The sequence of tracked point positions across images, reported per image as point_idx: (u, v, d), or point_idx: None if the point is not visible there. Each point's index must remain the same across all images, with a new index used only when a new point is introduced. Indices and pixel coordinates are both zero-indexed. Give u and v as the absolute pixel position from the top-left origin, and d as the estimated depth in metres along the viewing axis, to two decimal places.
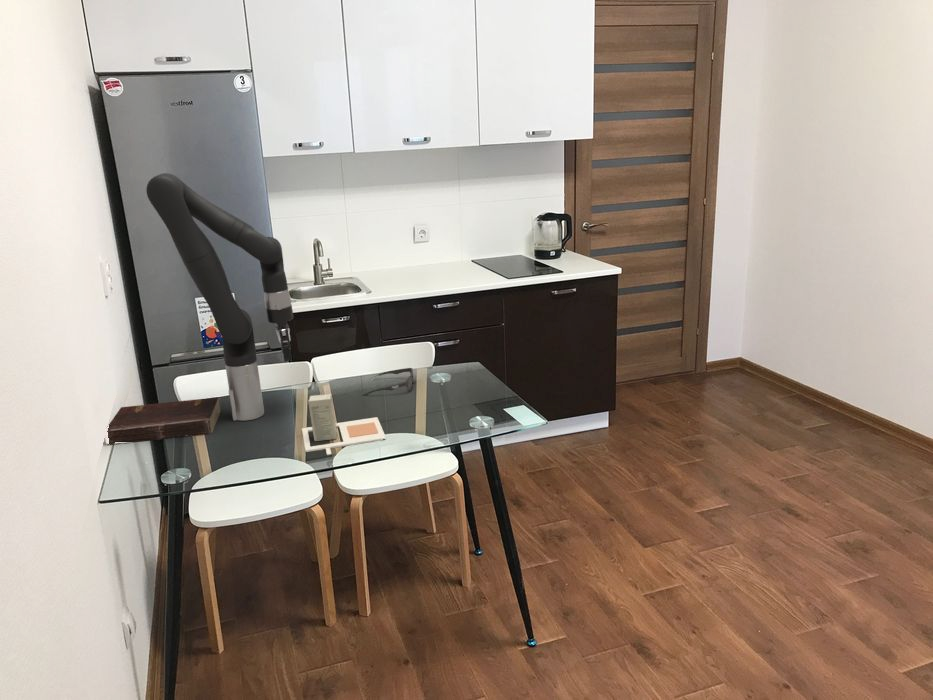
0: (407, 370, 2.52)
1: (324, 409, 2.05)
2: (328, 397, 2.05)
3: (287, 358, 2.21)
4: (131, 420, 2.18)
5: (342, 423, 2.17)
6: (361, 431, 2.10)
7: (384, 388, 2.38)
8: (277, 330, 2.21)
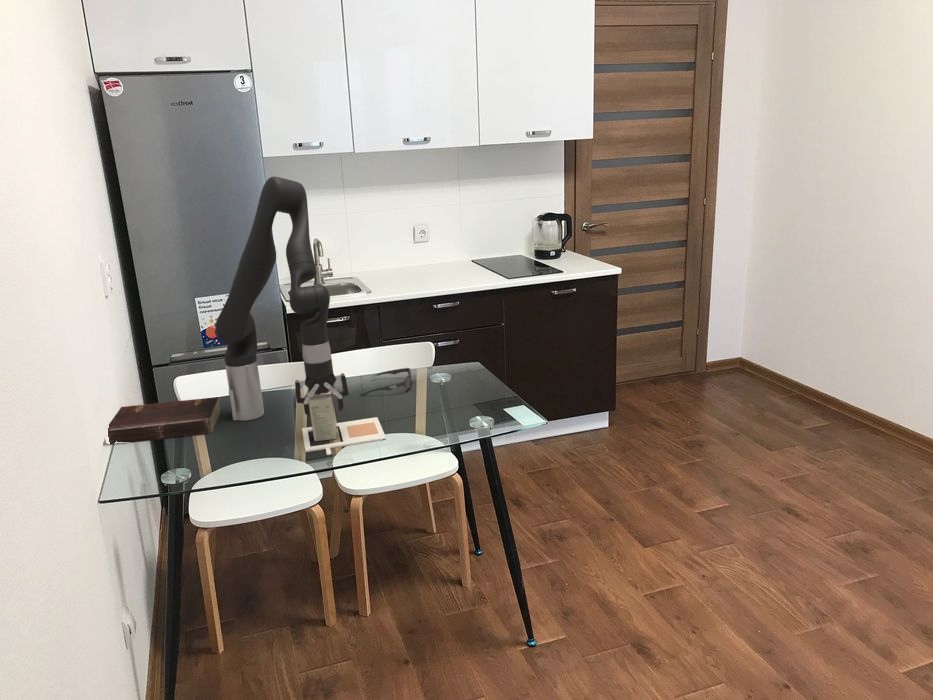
0: (405, 370, 2.52)
1: (324, 408, 2.05)
2: (328, 397, 2.05)
3: None
4: (131, 419, 2.18)
5: (342, 423, 2.17)
6: (361, 431, 2.10)
7: (382, 388, 2.38)
8: (328, 383, 2.04)
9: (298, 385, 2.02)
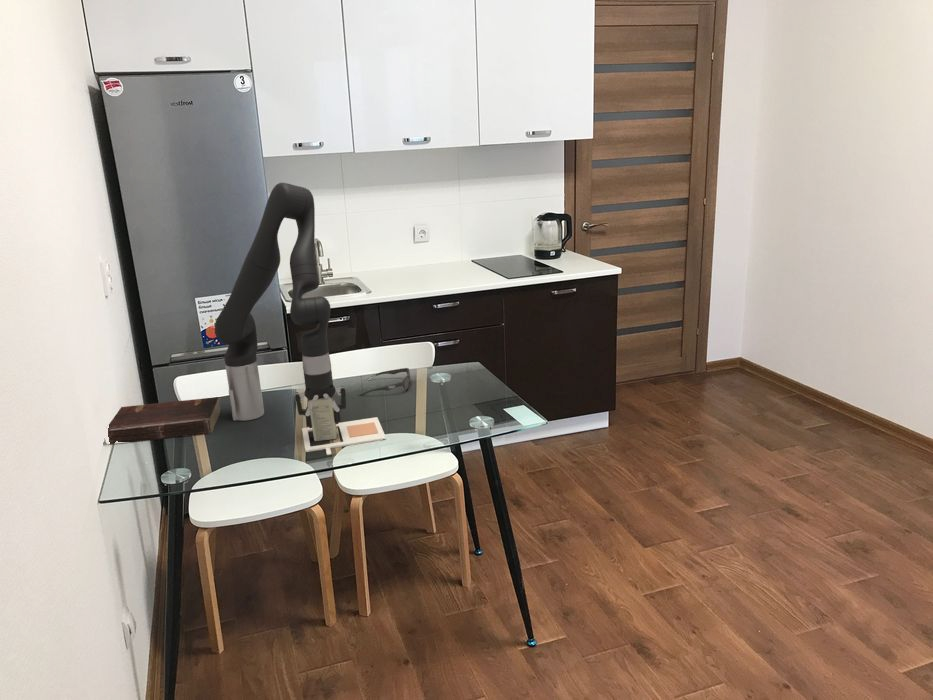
0: (404, 370, 2.52)
1: (324, 408, 2.05)
2: None
3: None
4: (131, 419, 2.18)
5: (342, 423, 2.17)
6: (361, 431, 2.10)
7: (381, 388, 2.38)
8: (327, 394, 2.05)
9: (298, 397, 2.03)
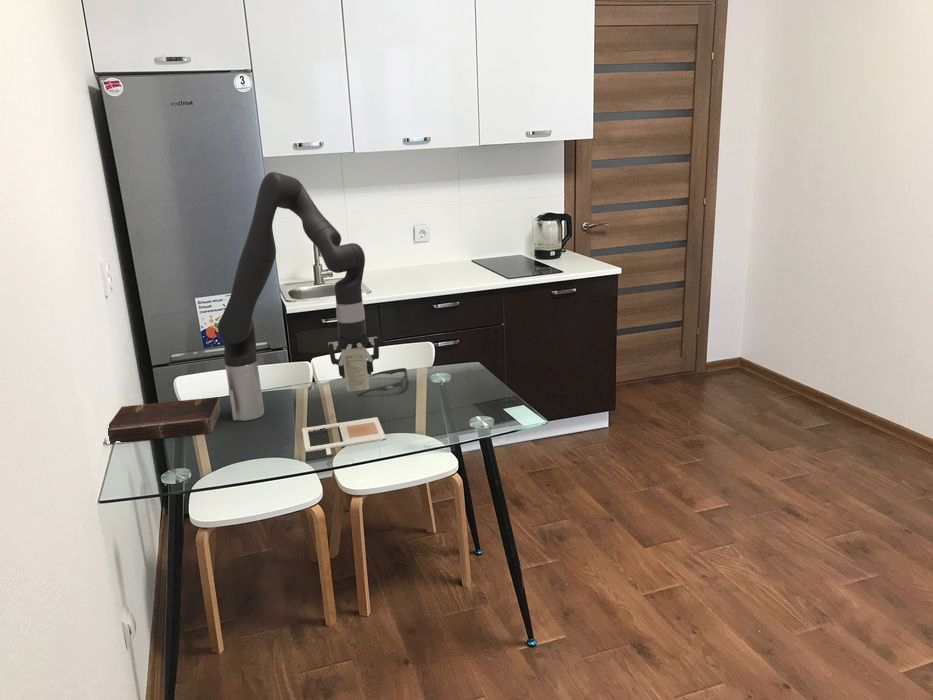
0: (401, 370, 2.52)
1: (358, 358, 2.03)
2: None
3: None
4: (131, 419, 2.19)
5: (342, 423, 2.17)
6: (361, 431, 2.10)
7: (378, 388, 2.38)
8: (361, 344, 2.03)
9: (331, 346, 2.02)
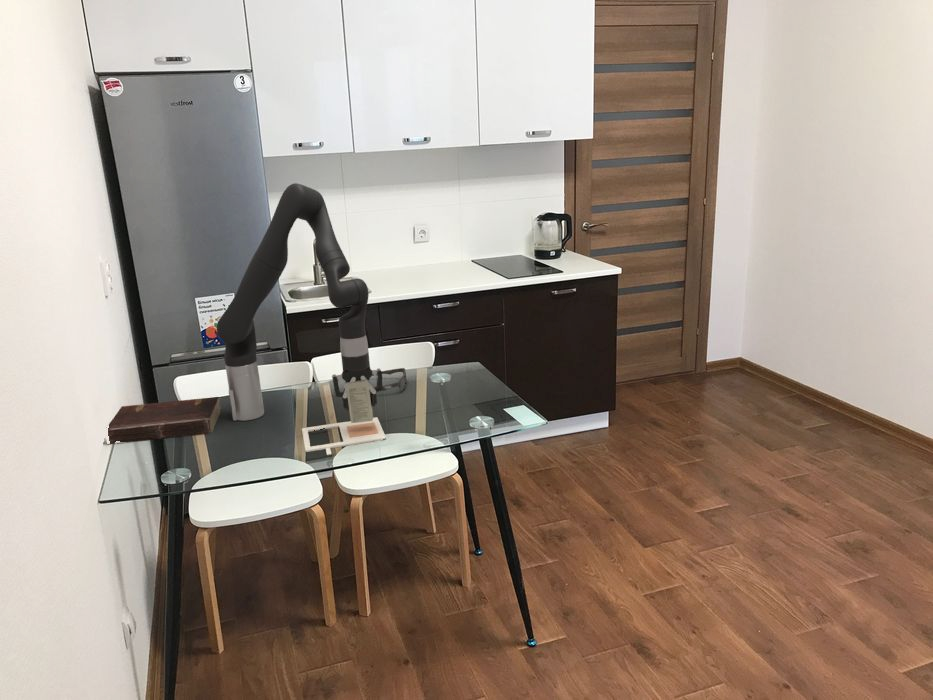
0: (400, 370, 2.52)
1: (361, 391, 2.06)
2: None
3: None
4: (131, 419, 2.19)
5: (342, 423, 2.17)
6: (361, 431, 2.10)
7: None
8: (364, 376, 2.06)
9: (335, 379, 2.04)
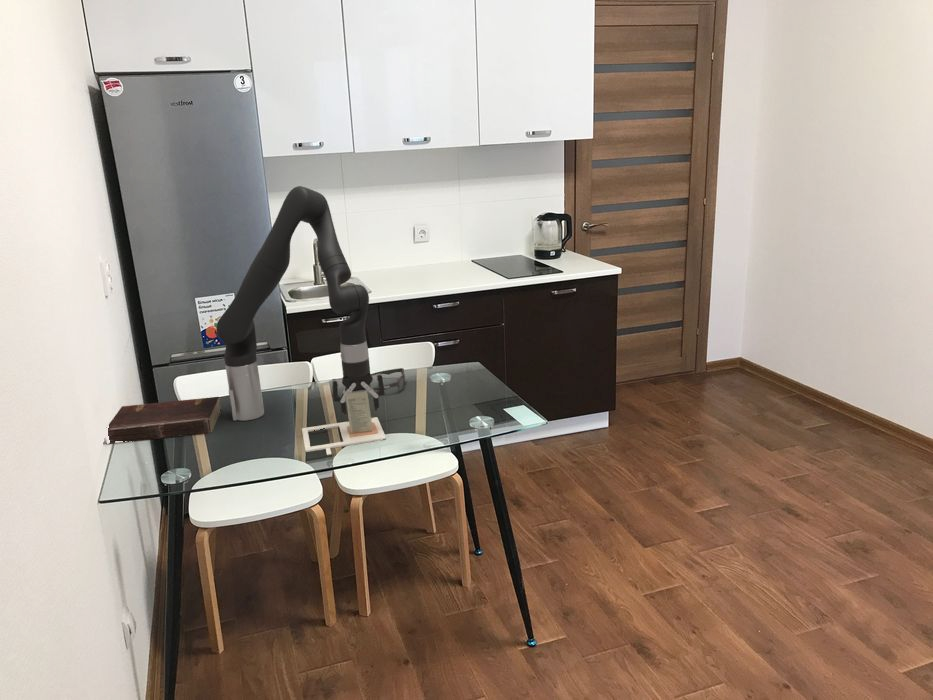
0: (398, 370, 2.52)
1: (361, 401, 2.07)
2: None
3: None
4: (131, 419, 2.19)
5: (342, 423, 2.17)
6: None
7: (375, 388, 2.38)
8: (365, 382, 2.06)
9: (335, 384, 2.05)
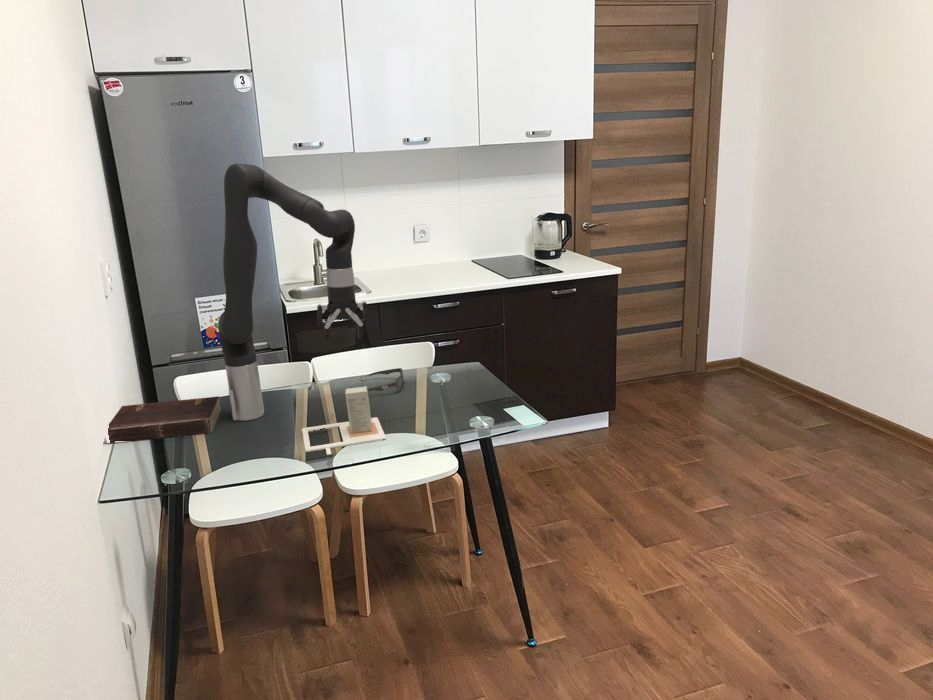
0: (397, 370, 2.52)
1: (361, 401, 2.07)
2: (364, 389, 2.07)
3: None
4: (131, 418, 2.19)
5: (342, 423, 2.17)
6: None
7: (374, 388, 2.38)
8: (349, 309, 2.07)
9: (320, 309, 2.06)
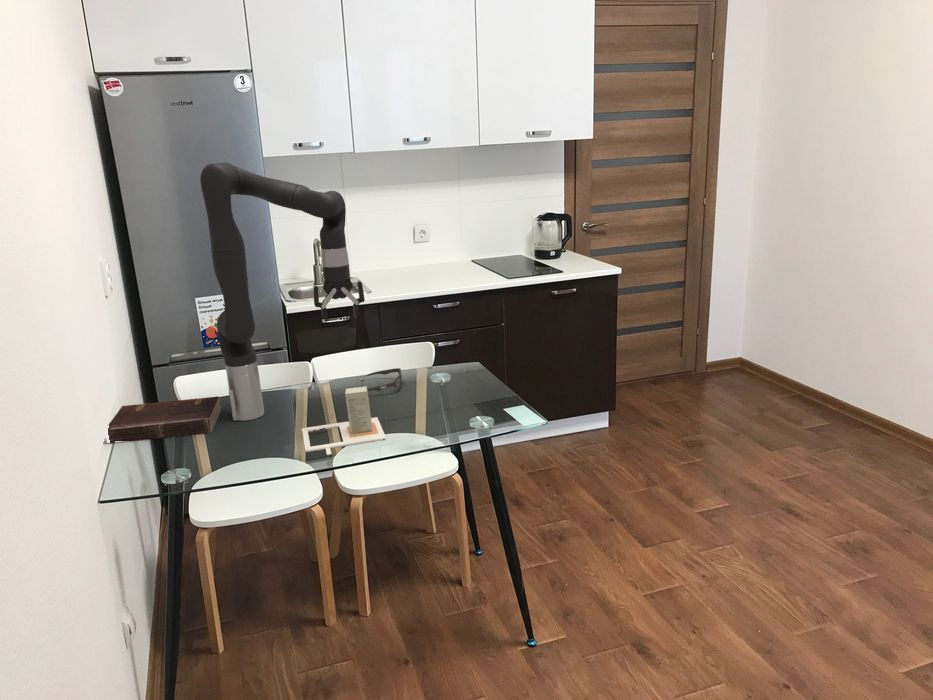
0: (395, 370, 2.52)
1: (361, 401, 2.07)
2: (364, 389, 2.07)
3: None
4: (131, 418, 2.19)
5: (342, 423, 2.17)
6: None
7: (372, 388, 2.38)
8: (345, 288, 2.12)
9: (316, 289, 2.10)
